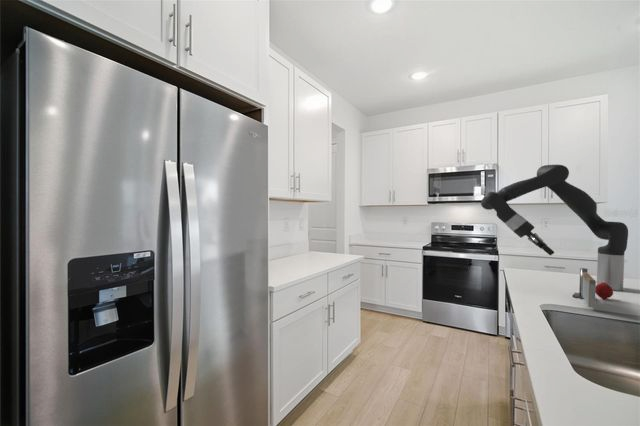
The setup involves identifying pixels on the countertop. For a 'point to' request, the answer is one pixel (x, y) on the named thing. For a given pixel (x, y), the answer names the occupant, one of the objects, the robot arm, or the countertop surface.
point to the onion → (604, 290)
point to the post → (578, 295)
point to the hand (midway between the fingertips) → (552, 253)
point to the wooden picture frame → (588, 289)
